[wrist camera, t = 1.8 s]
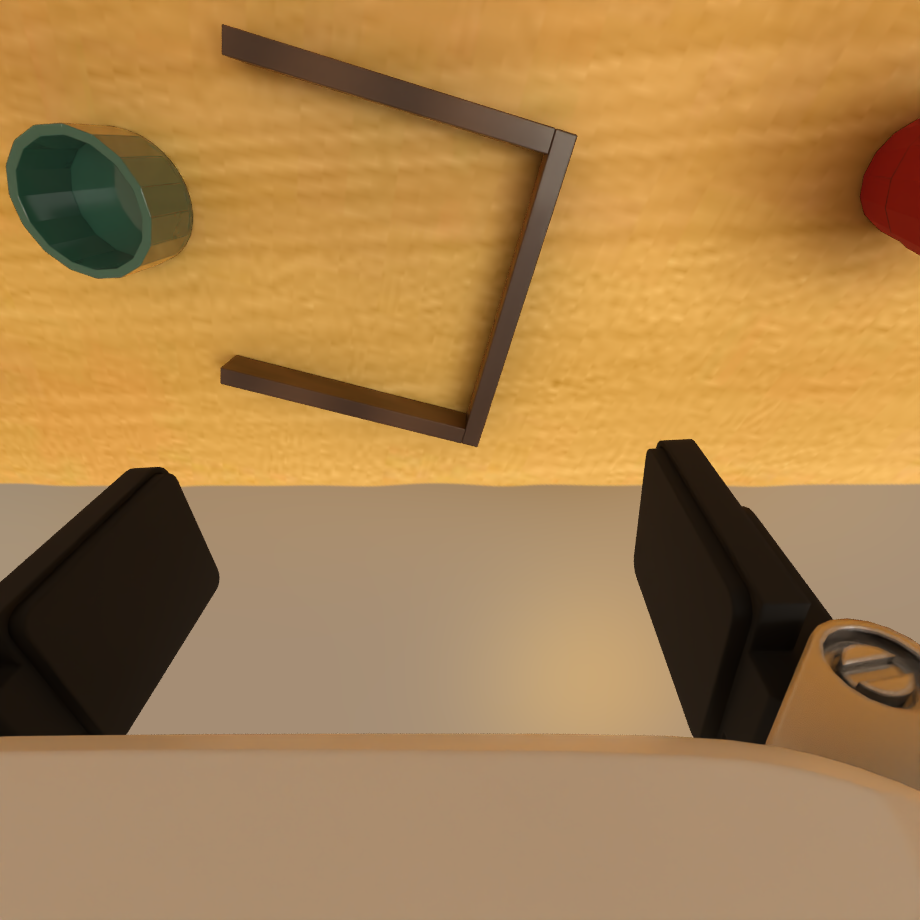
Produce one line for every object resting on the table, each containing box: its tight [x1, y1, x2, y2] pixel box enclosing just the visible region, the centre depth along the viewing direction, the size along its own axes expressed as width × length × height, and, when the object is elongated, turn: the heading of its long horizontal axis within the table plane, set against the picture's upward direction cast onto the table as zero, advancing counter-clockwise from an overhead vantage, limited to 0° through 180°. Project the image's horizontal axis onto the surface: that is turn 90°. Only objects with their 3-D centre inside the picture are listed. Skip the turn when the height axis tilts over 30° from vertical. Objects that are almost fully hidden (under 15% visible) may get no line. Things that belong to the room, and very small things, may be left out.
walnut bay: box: [221, 24, 577, 447], centre depth 31 cm, size 18×19×2 cm
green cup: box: [6, 123, 193, 279], centre depth 29 cm, size 7×7×5 cm
